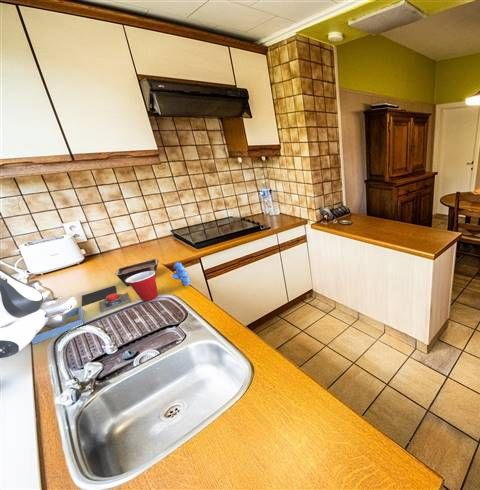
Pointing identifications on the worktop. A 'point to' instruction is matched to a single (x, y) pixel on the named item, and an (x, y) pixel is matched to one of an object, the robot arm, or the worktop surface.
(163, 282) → the worktop surface
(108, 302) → the control block
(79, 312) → the dish rack
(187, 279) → the grapes
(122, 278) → the baking dish
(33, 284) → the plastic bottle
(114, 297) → the button
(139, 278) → the plastic cup
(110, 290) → the drying mat
